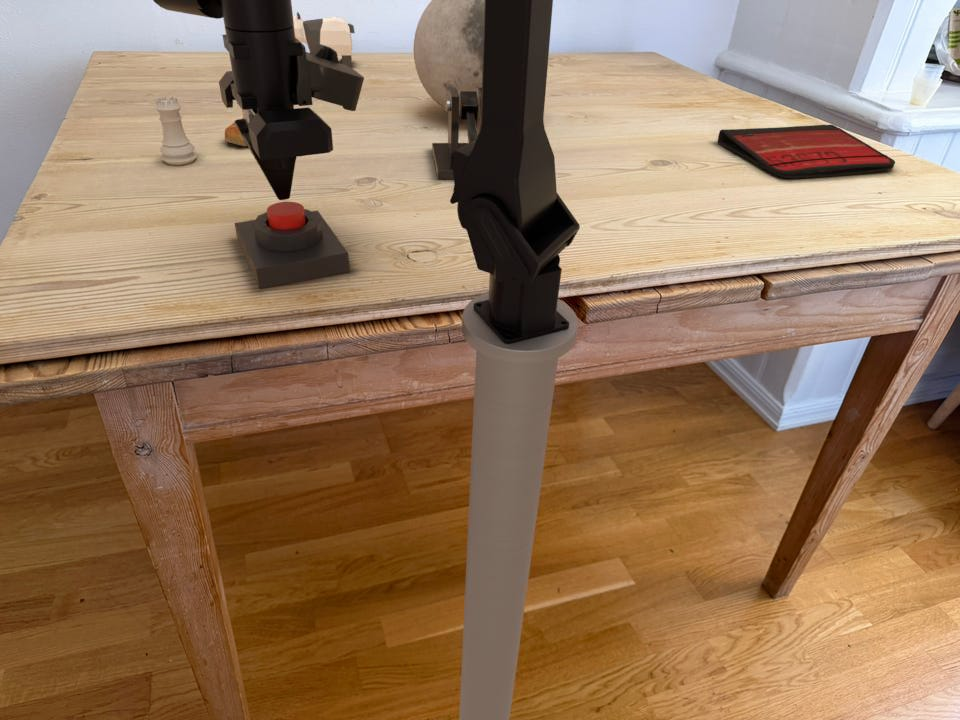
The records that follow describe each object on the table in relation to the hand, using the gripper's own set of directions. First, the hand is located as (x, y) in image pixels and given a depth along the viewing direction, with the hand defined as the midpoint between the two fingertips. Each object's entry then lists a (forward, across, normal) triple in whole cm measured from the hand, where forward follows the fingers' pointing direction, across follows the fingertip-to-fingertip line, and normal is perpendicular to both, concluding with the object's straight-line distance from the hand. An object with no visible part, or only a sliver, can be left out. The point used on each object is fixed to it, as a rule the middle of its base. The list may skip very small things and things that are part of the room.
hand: (283, 198), depth 67 cm
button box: (+6, 0, 0) cm, 6 cm away
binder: (+7, +3, -79) cm, 79 cm away
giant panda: (+7, +79, -26) cm, 83 cm away
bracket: (+6, +18, -29) cm, 35 cm away
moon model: (+7, +38, -40) cm, 56 cm away
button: (+3, 0, 0) cm, 3 cm away
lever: (+1, +14, -28) cm, 31 cm away
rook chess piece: (+7, +33, +7) cm, 34 cm away
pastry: (+7, +38, -5) cm, 39 cm away
